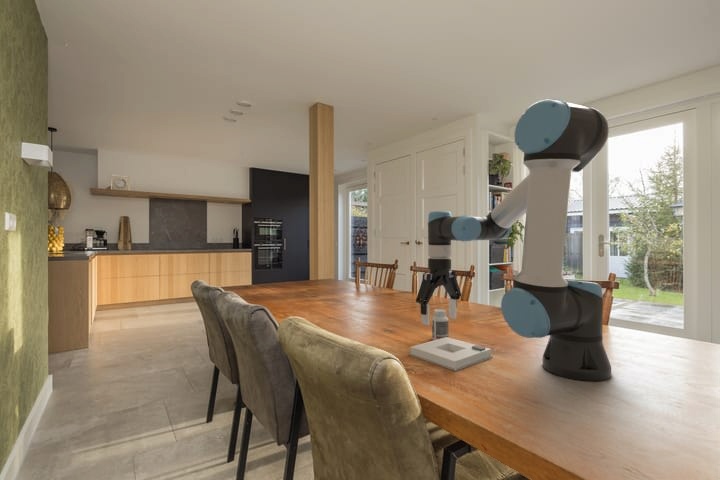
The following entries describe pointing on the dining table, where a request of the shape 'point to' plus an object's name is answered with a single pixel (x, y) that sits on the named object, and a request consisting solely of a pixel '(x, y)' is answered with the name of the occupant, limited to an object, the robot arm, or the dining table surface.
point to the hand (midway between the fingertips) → (439, 321)
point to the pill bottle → (439, 324)
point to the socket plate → (451, 353)
